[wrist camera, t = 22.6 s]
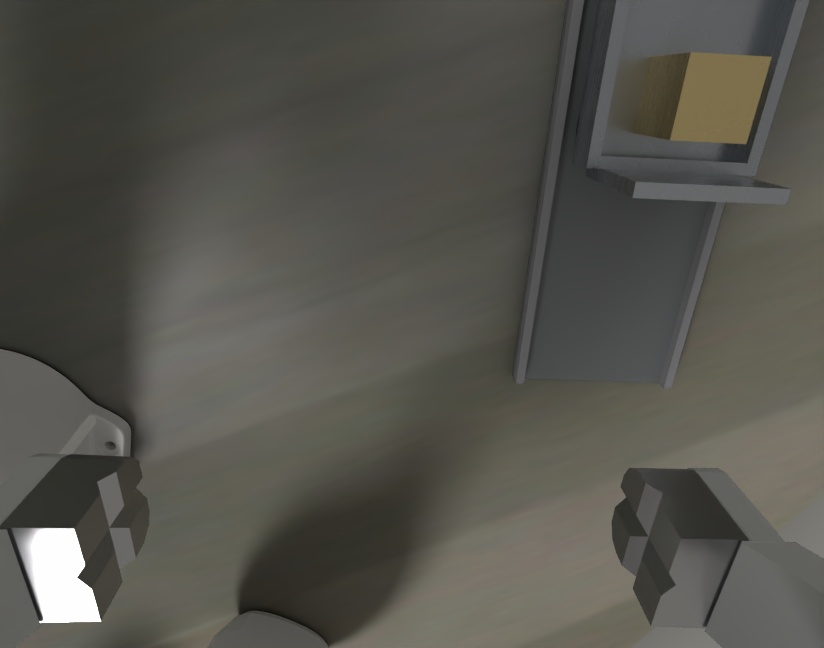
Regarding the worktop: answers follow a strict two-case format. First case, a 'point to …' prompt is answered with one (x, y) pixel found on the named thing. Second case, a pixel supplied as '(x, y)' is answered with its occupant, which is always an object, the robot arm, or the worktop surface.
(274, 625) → the soap bottle
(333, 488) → the worktop surface
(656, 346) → the track
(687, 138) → the wooden block
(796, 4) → the long grey tray
